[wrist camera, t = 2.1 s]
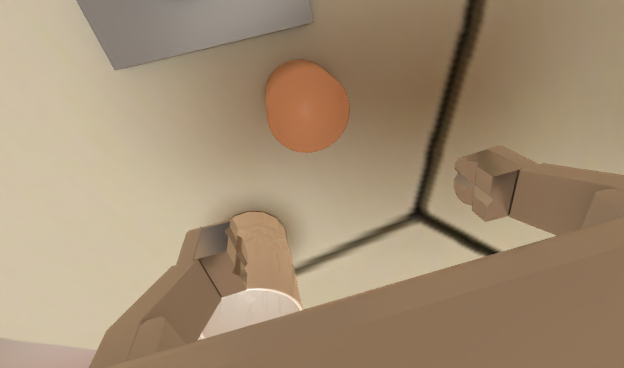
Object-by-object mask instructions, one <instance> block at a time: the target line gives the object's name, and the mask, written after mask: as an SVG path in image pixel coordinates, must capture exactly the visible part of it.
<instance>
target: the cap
mask: <svg viewBox="0 0 624 368" xmlns="http://www.w3.org/2000/svg"><path fill="white" fill-rule="evenodd" d="M265 99H266V109H267V119H268V124H269V127H270V129H271V131H272V133H273V135H274V136H275V138H276V139H277V140H278V141H279V142H280V143H281V144H282V145H284V146H285V147H287V148H289V149H291V150H294V151H297V152H305V153H308V152H316V151H319V150H322V149H324V148H326V147H328V146H330V145H331V144H333V143H334V142H335V141H336V140H337V139H338V138H339V137H340V135H341V134H342V133H343V131H344V129H345V127H346V125H347V122H348V118H349V110H350V109H349V101H348V97H347V94H346V92H345V90H344V88H343V87H342V85H341V84H340V83H339V82H338V81H337V80H336V79H335V78H333V77H332V76H331V75H330V74H328V73H327V72H326V71H325V70H323V69H322V68H321V67H320V66H318V65H317V64H315V63H313V62H311V61H307V60H292V61H289V62H286V63H284V64H282V65H281V66H279V67H278V68H277V69H276V70H275V71H274V72H273V73H272V75H271V76H270V78H269V80H268V82H267V85H266V90H265Z"/></svg>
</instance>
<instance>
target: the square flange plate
mask: <svg viewBox="0 0 624 368" xmlns="http://www.w3.org/2000/svg"><path fill="white" fill-rule="evenodd" d="M76 1H77V3H78V4H79V6H80V8H81V10H82V12H83V13H84V15H85V17H86V19H87V21H88V23H89V24H90V26H91V28H92V30H93V32H94V34H95V35H96V37H97V39H98V41H99V43H100V44H101V46H102V48H103V50H104V52H105V54H106V55H107V57H108V59H109V61H110V63H111V64H112V66H113V68H114V70H119V69H123V68H127V67H131V66H135V65H139V64H143V63H148V62H152V61H156V60H160V59H164V58H168V57H172V56H177V55H181V54H185V53H189V52H193V51H197V50H201V49H205V48H210V47H214V46H218V45H222V44H226V43H230V42H234V41H239V40H243V39H247V38H251V37H255V36H259V35H263V34H267V33H272V32H276V31H280V30H284V29H288V28H292V27H296V26H301V25H305V24H309V23H313V17H312V11H311V5H310V0H76Z"/></svg>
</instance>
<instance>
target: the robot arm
mask: <svg viewBox="0 0 624 368" xmlns="http://www.w3.org/2000/svg"><path fill="white" fill-rule="evenodd" d="M455 169H456V171H457V172H458V174H457V176H456V177H455V179H454V189H455V193H456V195H457V196H458V198H459V199H460V200H461V201H462V202H463V203H465V204H468V205H472V211H473V212H474V213H476V214H477V215H478V216H479V217H480V218H481V219H483V220H484V221H485V222H487V221H490V220H494V219H498V218H502V217H506V216H509V217H511V218H513V219H516V220H519V221H521V222H524V223H526V224H529V225H531V226H534V227H536V228H539V229H542V230H544V231H547V232H549V233H552V234H554V235H557V236H555V237H551V238H548V239H545V240H541V241H538V242H534V243H531V244H527V245H524V246H521V247H517V248H514V249H510V250H507V251H503V252H500V253H496V254H493V255H489V256H486V257H483V258H479V259H476V260H472V261H469V262H465V263H462V264H458V265H455V266H451V267H448V268H445V269H441V270H438V271H434V272H431V273H428V274H424V275H421V276H417V277H414V278H410V279H407V280H404V281H400V282H397V283H393V284H390V285H387V286H383V287H380V288H376V289H373V290H369V291H366V292H363V293H359V294H356V295H352V296H349V297H345V298H342V299H339V300H335V301H332V302H328V303H325V304H322V305H318V306H315V307H311V308H308V309H304V310H301V311H298V312H294V313H291V314H287V315H284V316H280V317H277V318H274V319H270V320H267V321H263V322H260V323H256V324H253V325H250V326H246V327H243V328H239V329H236V330H232V331H229V332H226V333H222V334H219V335H215V336H212V337H208V338H205V339H202V340H198V338H199V337H200V335H201V333H202V331H203V330H204V328H205V326H206V325H207V323H208V321H209V320H210V318H211V316H212V315H213V313H214V311H215V310H216V308H217V306H218V305H219V303H220V301H221V300H222V299H221V298H223V297H226V296H229V295H232V294H235V293H238V292H242V291H245V290H247V272H246V270H245V267H246V265H247V264H248V257H247V250H246V247H245V244H244V241H243V239H242V238H241V237H239V236H238V235H237V232H238V228H237V226H236V224H235V222H234V221H233V220H228V221H224V222H220V223H216V224H212V225H208V226H204V227H200V228H196V229H193V230H189V231H188V232H187V233H186V236H185V239H184V242H183V245H182V248H181V251H180V255H179V258H178V261H177V264H176V266H172V267H171V268H170V269H169V270H168V271H167V272H166V273H165V274H164V275H163V276H161V277H160V278H159V279H158V280H157V281H156V282H155V283H154V284H153V285H152V286H151V287H150V288H149V289H148V290H147V291H146V292H145V293H144V294H143V295H142V296H141V297H140V298H139V299H138V300H137V301H136V302H135V303H134V304H133V305H132V306H131V307H130V308H129V309H128V310H127V311H126V312H125V313H124V314H123V315H122V316H121V317H120V318H119V319H118V320H117V321H116V322H115V323H114V324H113V325H112V326H111V327H110V328H109V329H108V330H107V331H106V333H105V335H104V337H103V339H102V341H101V343H100V345H99V348H98V350H97V352H96V354H95V356H94V358H93V360H92V362H91V365H90V366H89V368H624V175H618V174H612V173H605V172H598V171H592V170H585V169H578V168H572V167H565V166H558V165H552V164H545V163H543V164H537V163H535V162H533V161H531V160H529V159H527V158H525V157H523V156H521V155H519V154H517V153H515V152H513V151H511V150H509V149H507V148H505V147H503V146H496V147H493V148H490V149H487V150H484V151H481V152H478V153H474V154H471V155H467V156H464V157H460V158H458V159H457V161H456V163H455ZM197 340H198V341H197Z"/></svg>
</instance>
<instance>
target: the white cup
mask: <svg viewBox="0 0 624 368" xmlns="http://www.w3.org/2000/svg"><path fill="white" fill-rule="evenodd" d="M231 220H233V221H234V222H235V224H236V226H237V228H238V232H237V235H238V236H239V237H241V238H242V239H243V241H244V244H245V247H246V250H247V257H248V264H247V265H246V267H245V270H246V272H247V290H245V291H242V292H238V293H235V294H232V295H229V296H226V297H223V298H221V299H222V300H221V301H220V303H219V305H218V306H217V308H216V310H215V311H214V313H213V315H212V316H211V318H210V320H209V321H208V323H207V325H206V326H205V328H204V330H203V331H202V333H201V335H200V337H201V338H202V339H205V338H208V337H212V336H215V335H219V334H222V333H226V332H229V331H232V330H236V329H239V328H243V327H246V326H250V325H253V324H256V323H260V322H263V321H267V320H270V319H274V318H277V317H280V316H284V315H287V314H291V313H294V312H298V311H301V310H303V308H302V303H301V299H300V294H299V289H298V284H297V279H296V274H295V269H294V265H293V261H292V257H291V253H290V249H289V247H288V244H287V239H286V234H285V229H284V227H283V226H282V224H281V223H280V222H279V221H278V219H277V218H275V217H273V216H270V215H268V214H266V213H264V212H246V213H243V214H240V215H237V216H234V217H233V218H232V219H231Z"/></svg>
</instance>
